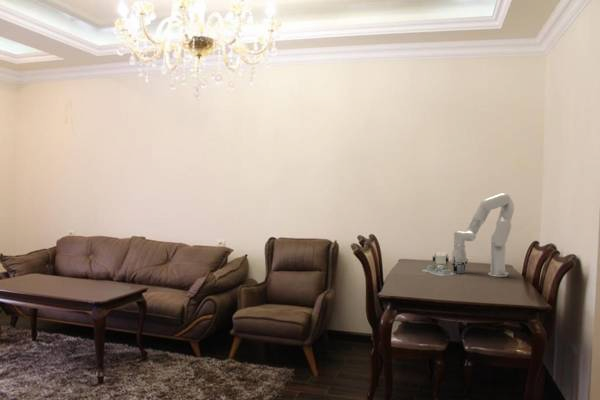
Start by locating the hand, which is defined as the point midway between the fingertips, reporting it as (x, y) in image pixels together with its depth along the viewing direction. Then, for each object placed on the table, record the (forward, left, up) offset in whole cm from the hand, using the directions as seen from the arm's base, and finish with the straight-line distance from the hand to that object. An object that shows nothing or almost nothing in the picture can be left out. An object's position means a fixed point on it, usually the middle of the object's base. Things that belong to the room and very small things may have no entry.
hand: (459, 271), depth 344 cm
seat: (+4, +15, -1) cm, 16 cm away
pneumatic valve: (+18, +2, -2) cm, 19 cm away
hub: (0, 0, -1) cm, 1 cm away
